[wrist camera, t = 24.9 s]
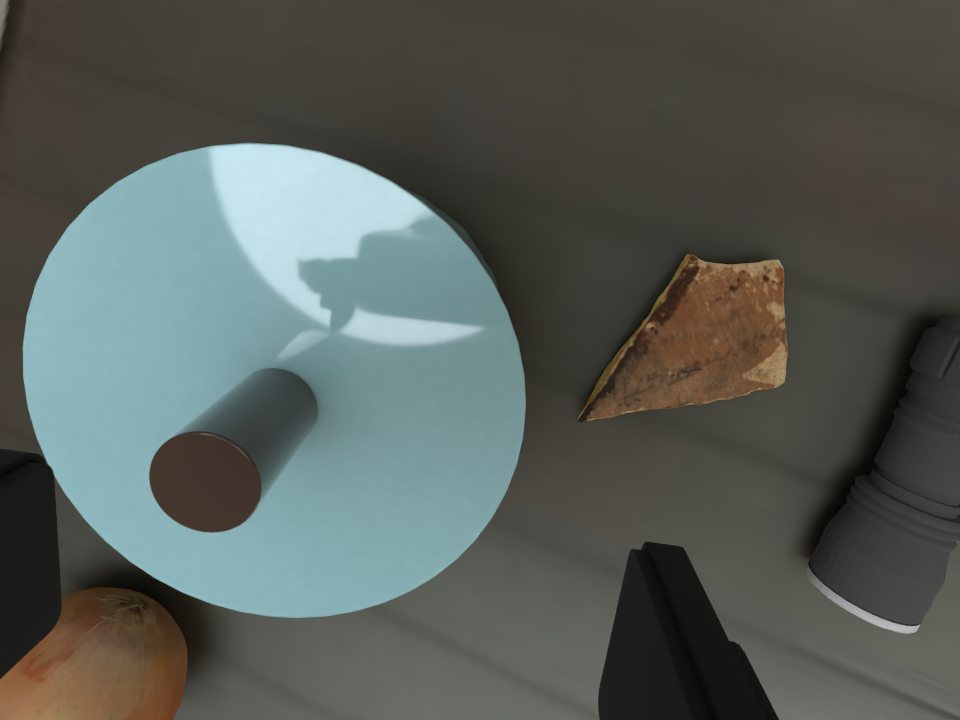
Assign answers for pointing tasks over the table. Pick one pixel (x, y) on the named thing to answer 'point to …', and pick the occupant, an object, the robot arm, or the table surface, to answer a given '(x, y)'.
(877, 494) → the flashlight
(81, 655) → the onion
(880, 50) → the table surface
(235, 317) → the lid
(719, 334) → the shard
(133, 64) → the table surface
